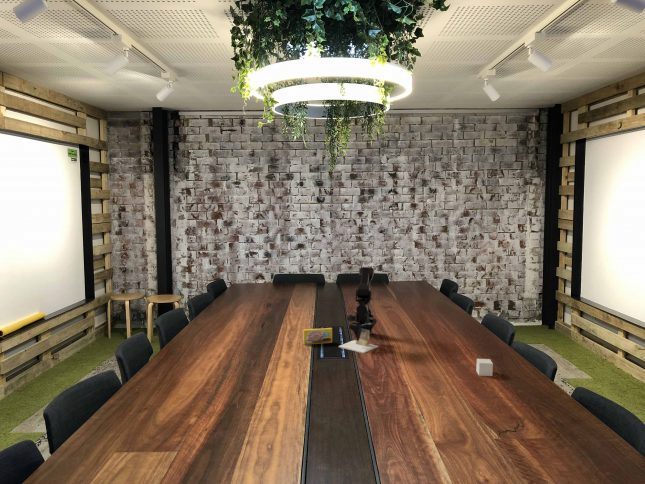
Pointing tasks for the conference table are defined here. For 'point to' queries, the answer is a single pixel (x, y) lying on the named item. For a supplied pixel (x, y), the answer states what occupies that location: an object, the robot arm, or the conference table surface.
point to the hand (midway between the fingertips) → (362, 338)
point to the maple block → (363, 338)
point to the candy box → (317, 336)
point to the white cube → (484, 367)
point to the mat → (357, 347)
